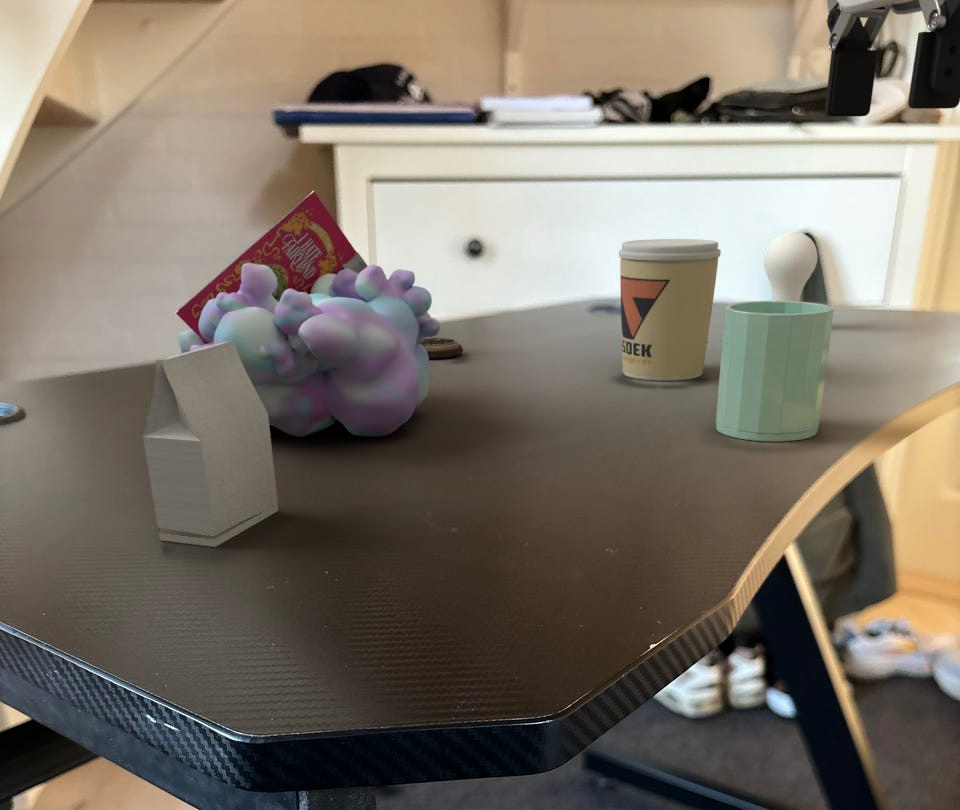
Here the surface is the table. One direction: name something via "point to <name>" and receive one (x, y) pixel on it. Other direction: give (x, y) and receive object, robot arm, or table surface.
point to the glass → (773, 369)
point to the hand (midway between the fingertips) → (886, 112)
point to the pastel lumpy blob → (318, 328)
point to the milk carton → (208, 446)
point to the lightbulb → (789, 265)
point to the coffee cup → (666, 306)
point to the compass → (441, 347)
